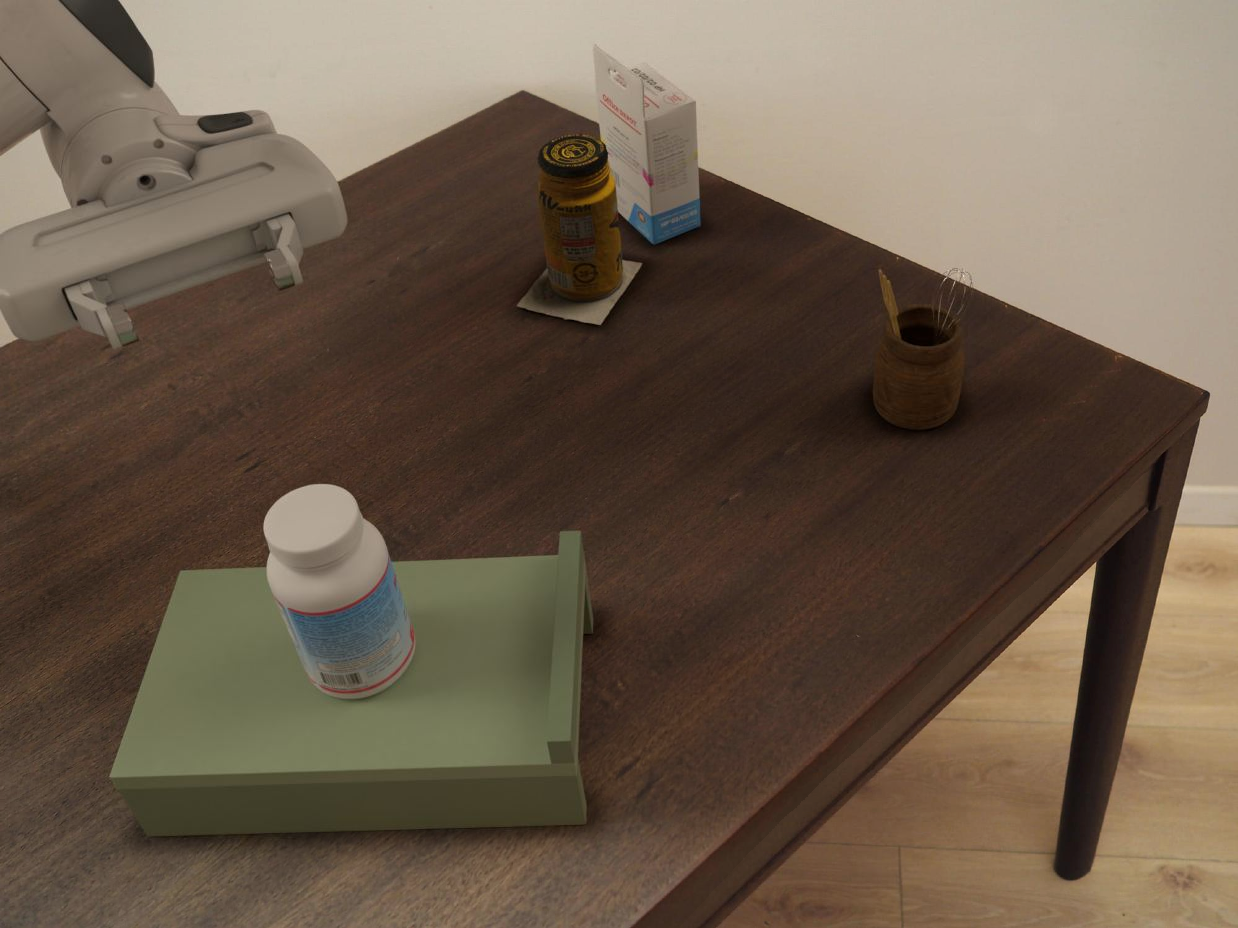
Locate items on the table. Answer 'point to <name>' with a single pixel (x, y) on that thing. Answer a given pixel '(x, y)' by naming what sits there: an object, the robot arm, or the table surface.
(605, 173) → the condiment
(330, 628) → the pill bottle
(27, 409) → the table surface
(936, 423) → the utensil holder
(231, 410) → the table surface
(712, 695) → the table surface
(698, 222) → the ink box
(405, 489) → the table surface
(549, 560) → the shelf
